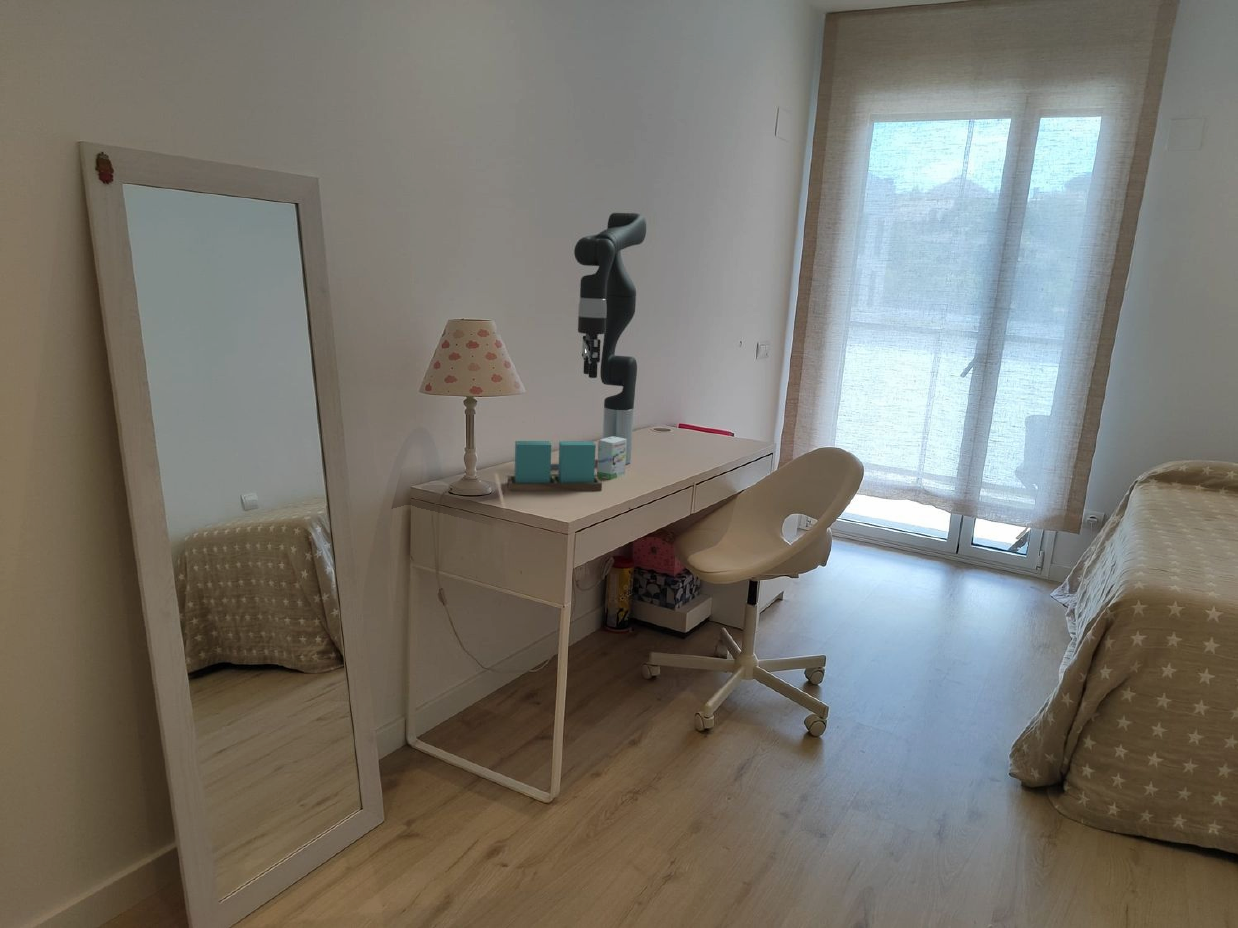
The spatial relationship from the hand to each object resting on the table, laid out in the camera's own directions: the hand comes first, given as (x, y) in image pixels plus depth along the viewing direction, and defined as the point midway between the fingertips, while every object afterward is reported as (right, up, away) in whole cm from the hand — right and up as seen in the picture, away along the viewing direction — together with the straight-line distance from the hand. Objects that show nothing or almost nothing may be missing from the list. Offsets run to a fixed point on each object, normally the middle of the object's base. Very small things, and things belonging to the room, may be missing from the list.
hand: (590, 375), depth 218 cm
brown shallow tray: (-10, -31, -3) cm, 33 cm away
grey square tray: (-12, -28, +10) cm, 32 cm away
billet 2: (-4, -30, -2) cm, 30 cm away
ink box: (+6, -29, +12) cm, 32 cm away
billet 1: (-15, -30, -4) cm, 34 cm away
